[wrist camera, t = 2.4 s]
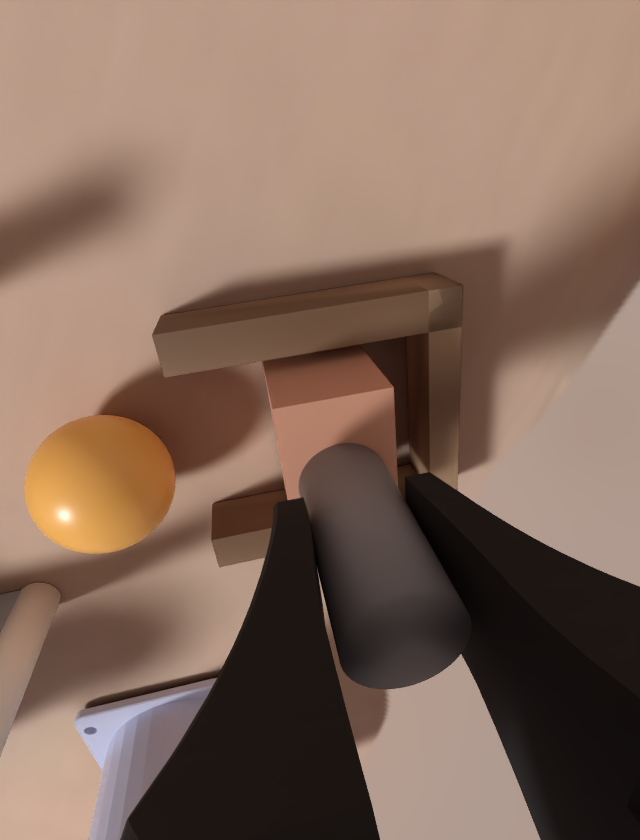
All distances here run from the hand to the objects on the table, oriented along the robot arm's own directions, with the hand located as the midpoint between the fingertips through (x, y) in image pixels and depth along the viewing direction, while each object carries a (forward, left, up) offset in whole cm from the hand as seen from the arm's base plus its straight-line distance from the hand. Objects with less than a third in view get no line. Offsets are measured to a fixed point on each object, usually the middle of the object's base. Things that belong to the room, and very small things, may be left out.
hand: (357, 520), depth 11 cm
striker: (0, 0, -6) cm, 6 cm away
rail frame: (0, 0, -6) cm, 6 cm away
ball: (0, +7, -4) cm, 8 cm away
